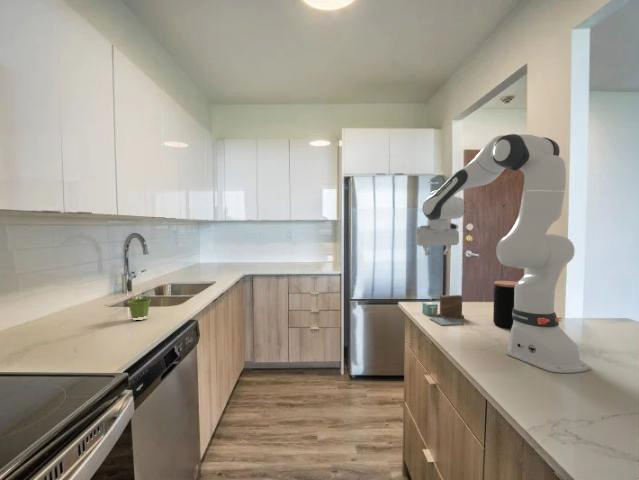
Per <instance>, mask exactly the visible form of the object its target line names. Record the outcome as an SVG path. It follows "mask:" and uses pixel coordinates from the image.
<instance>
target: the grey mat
mask: <svg viewBox="0 0 639 480" xmlns="http://www.w3.org/2000/svg"><path fill="white" fill-rule="evenodd" d="M429 320H430V321H431V322H434V323H436V324H438V325H439V326H441V327H446V326H459V325H461V326H462V325H463V326H464V323H463V322H462V321H459V320H457V319H455V318H451V317H447V318H440V317H430V318H429Z"/></svg>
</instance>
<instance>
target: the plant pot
mask: <svg viewBox="0 0 639 480" xmlns="http://www.w3.org/2000/svg"><path fill="white" fill-rule="evenodd" d="M126 302H127V304H128V307H129V311H130V315H131V316H130V317H131V318H132V317H133V318H138V317H144V316H147V315H148V316H149V307H150V303H151V298H135V299H131V300H128V301H126Z"/></svg>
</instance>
